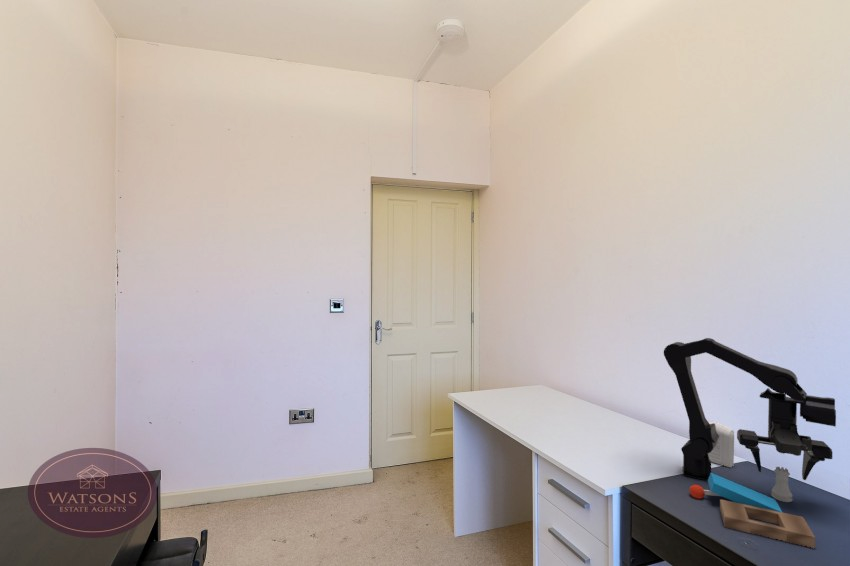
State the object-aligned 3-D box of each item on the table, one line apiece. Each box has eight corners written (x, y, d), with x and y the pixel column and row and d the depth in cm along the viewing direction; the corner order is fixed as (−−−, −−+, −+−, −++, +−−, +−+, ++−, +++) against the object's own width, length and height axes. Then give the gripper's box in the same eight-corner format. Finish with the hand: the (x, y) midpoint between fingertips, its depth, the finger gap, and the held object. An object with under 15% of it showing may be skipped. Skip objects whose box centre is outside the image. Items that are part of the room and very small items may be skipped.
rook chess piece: (797, 503, 109) (797, 473, 109) (777, 502, 110) (777, 471, 110) (786, 495, 113) (786, 465, 113) (767, 493, 114) (767, 464, 114)
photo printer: (736, 465, 132) (736, 426, 132) (730, 469, 129) (731, 429, 129) (699, 454, 140) (700, 417, 140) (694, 457, 137) (694, 419, 137)
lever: (765, 523, 108) (686, 488, 116) (775, 499, 107) (695, 465, 115) (772, 538, 102) (688, 500, 110) (782, 512, 101) (697, 476, 109)
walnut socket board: (724, 527, 98) (724, 516, 98) (719, 508, 106) (720, 499, 106) (814, 548, 91) (815, 537, 91) (802, 527, 98) (802, 516, 98)
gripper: (743, 419, 109) (743, 479, 109) (841, 433, 100) (840, 498, 100) (737, 408, 119) (736, 463, 119) (825, 419, 110) (824, 479, 110)
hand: (781, 475), depth 112 cm, fingers open, 9 cm apart
